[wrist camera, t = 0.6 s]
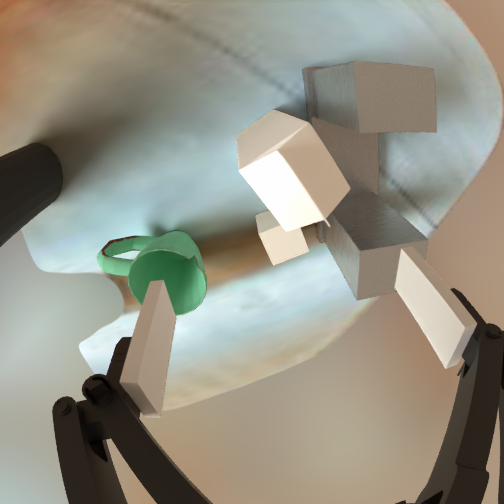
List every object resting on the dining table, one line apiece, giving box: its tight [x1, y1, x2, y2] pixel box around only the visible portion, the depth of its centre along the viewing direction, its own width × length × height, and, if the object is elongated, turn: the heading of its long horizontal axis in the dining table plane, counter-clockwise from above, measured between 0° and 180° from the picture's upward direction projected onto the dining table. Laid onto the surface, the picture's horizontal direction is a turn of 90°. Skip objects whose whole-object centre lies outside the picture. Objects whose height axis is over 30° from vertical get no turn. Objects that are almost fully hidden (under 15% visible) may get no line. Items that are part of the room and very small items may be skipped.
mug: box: [97, 231, 207, 316], centre depth 39 cm, size 15×10×10 cm
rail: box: [302, 62, 437, 300], centre depth 32 cm, size 24×9×16 cm, turn 8°
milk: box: [236, 109, 350, 231], centre depth 28 cm, size 6×6×22 cm
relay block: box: [255, 210, 309, 266], centre depth 41 cm, size 5×5×6 cm
